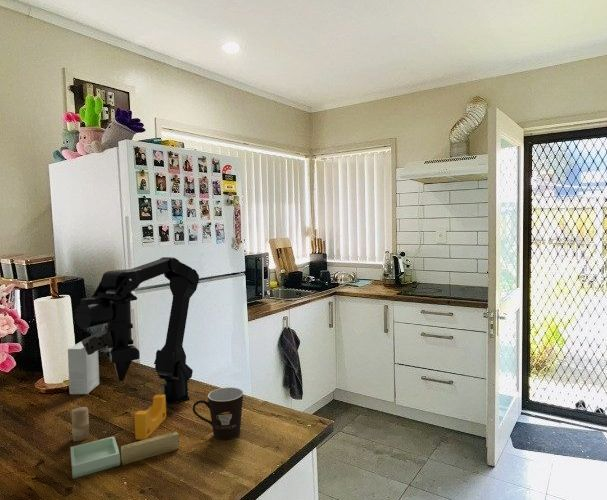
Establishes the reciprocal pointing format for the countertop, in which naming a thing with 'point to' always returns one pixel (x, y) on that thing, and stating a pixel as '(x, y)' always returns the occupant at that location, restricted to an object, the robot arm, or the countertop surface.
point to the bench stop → (149, 447)
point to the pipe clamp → (150, 417)
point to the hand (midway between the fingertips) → (120, 380)
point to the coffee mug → (224, 412)
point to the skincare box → (82, 370)
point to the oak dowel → (80, 424)
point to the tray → (94, 456)
